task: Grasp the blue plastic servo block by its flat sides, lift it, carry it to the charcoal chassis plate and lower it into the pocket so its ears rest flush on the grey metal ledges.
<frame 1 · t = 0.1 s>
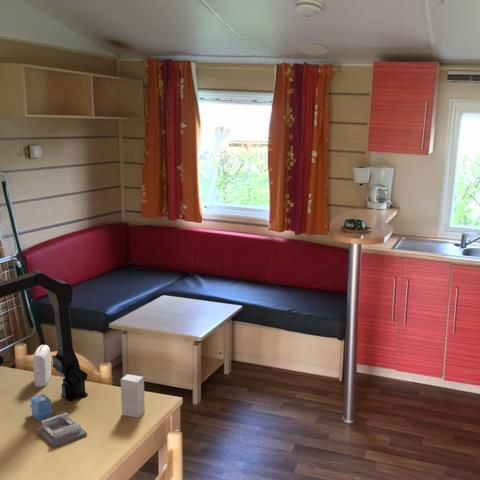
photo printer: (43, 381, 207), on the table
skincare box: (133, 414, 185), on the table
chassis: (61, 433, 173), on the table
servo: (41, 416, 183), on the table
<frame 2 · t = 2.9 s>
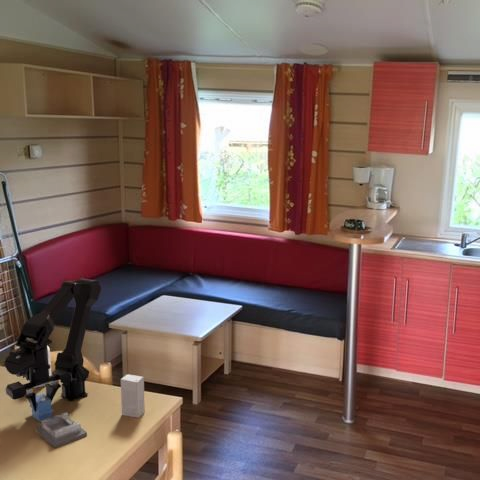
hand: (41, 408, 182), 3 cm above the table, fingers closed on servo, 4 cm apart
servo: (42, 416, 183), on the table, touching gripper
everything else where it was.
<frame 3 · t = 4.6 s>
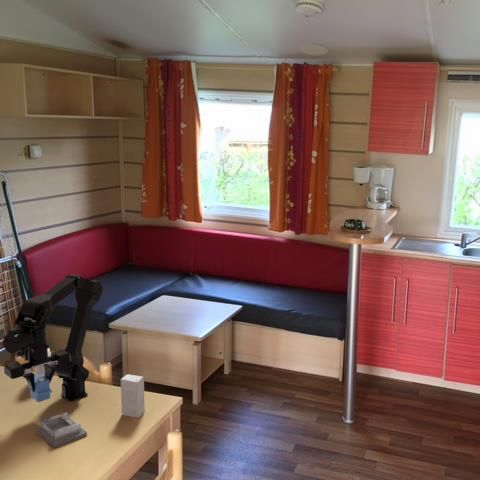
hand: (40, 389, 181), 9 cm above the table, fingers closed on servo, 4 cm apart
servo: (40, 397, 181), point 6 cm above the table, touching gripper
everything else where it was.
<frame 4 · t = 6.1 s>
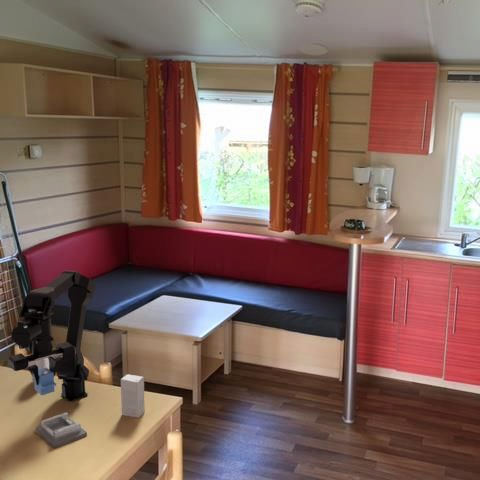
hand: (44, 382, 177), 13 cm above the table, fingers closed on servo, 4 cm apart
servo: (44, 390, 178), point 10 cm above the table, touching gripper
everything else where it was.
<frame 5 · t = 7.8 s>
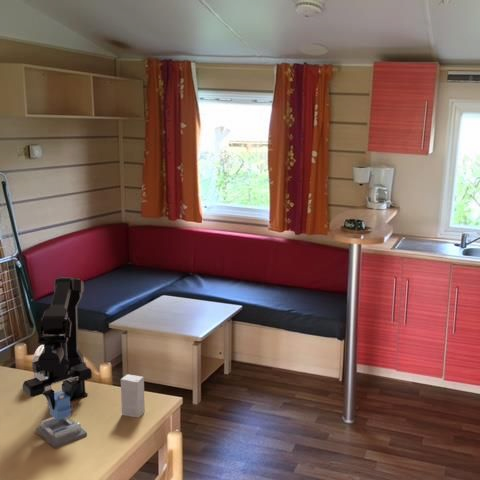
hand: (59, 406, 172), 8 cm above the table, fingers closed on servo, 4 cm apart
servo: (60, 414, 172), point 6 cm above the table, touching gripper
everything else where it was.
when the fingers open (4 cm above the table, at t = 9.4 s): servo stays where it is, resting on chassis.
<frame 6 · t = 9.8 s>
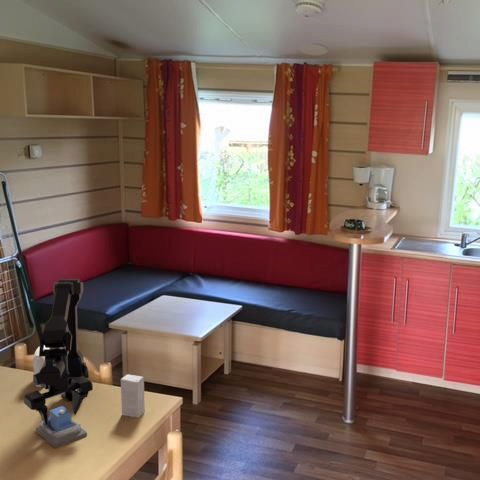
hand: (60, 419, 172), 4 cm above the table, fingers open, 9 cm apart
servo: (61, 430, 173), point 1 cm above the table, touching chassis
everything else where it was.
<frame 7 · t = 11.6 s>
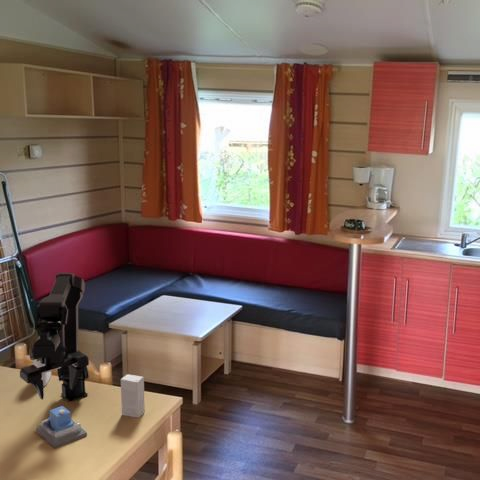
hand: (56, 394, 172), 12 cm above the table, fingers open, 9 cm apart
nothing on the table moved.
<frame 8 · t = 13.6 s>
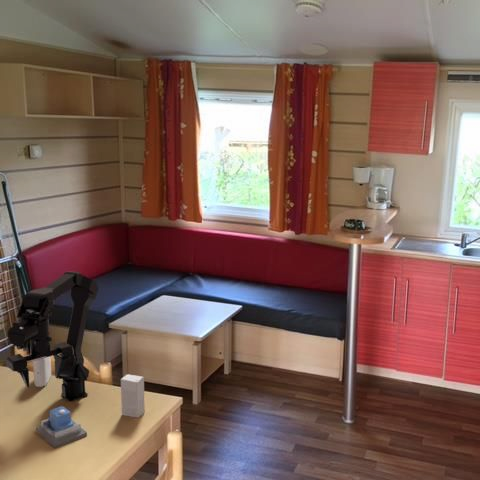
hand: (42, 382, 179), 12 cm above the table, fingers open, 9 cm apart
nothing on the table moved.
at the end: servo 0.0 cm off-centre on the chassis, point 1.0 cm above the chassis's base; servo tilted 0°; the gripper is holding nothing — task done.
